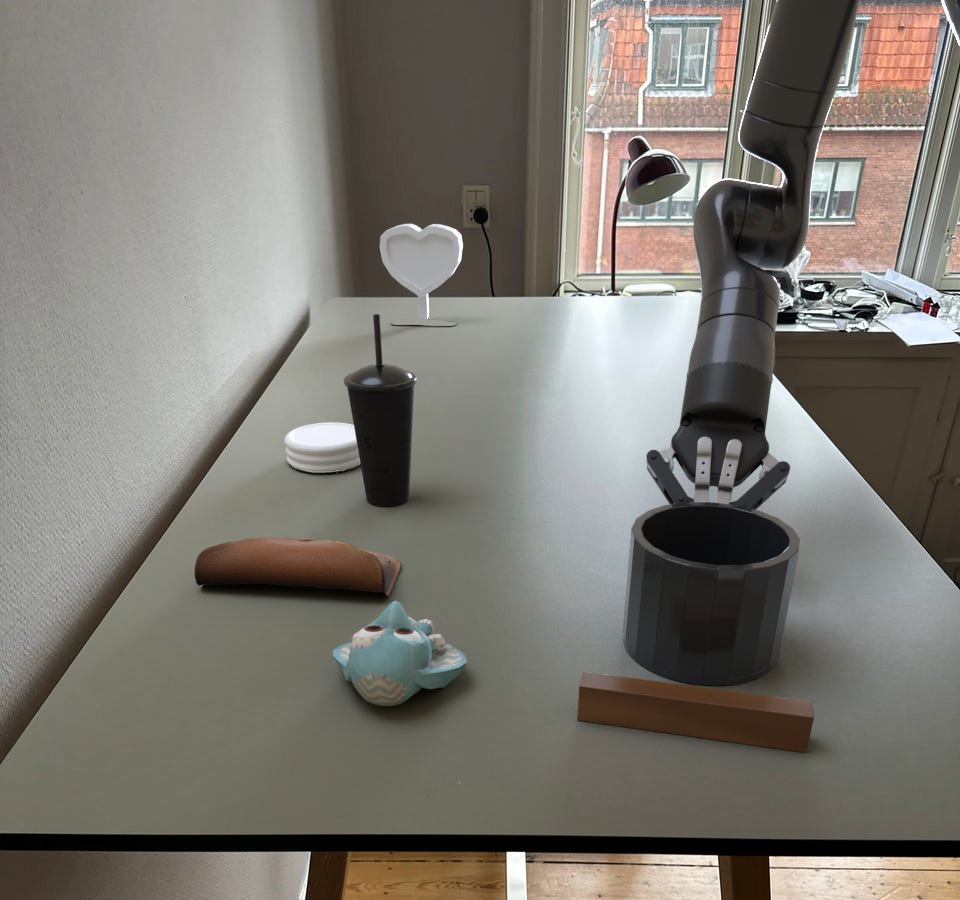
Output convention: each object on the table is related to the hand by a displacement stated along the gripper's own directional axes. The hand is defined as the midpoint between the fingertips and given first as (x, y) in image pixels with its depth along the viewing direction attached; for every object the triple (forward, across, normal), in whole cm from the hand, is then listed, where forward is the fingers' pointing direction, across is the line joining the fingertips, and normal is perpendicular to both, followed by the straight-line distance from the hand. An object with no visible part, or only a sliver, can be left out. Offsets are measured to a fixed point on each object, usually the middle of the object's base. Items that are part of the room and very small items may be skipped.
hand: (703, 560), depth 80 cm
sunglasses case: (+6, -36, 0) cm, 37 cm away
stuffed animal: (+16, -22, -10) cm, 29 cm away
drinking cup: (-8, -36, +15) cm, 39 cm away
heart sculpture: (-70, -60, +78) cm, 121 cm away
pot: (+8, +1, -2) cm, 8 cm away
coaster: (-15, -47, +22) cm, 54 cm away
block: (+16, +1, -10) cm, 19 cm away
